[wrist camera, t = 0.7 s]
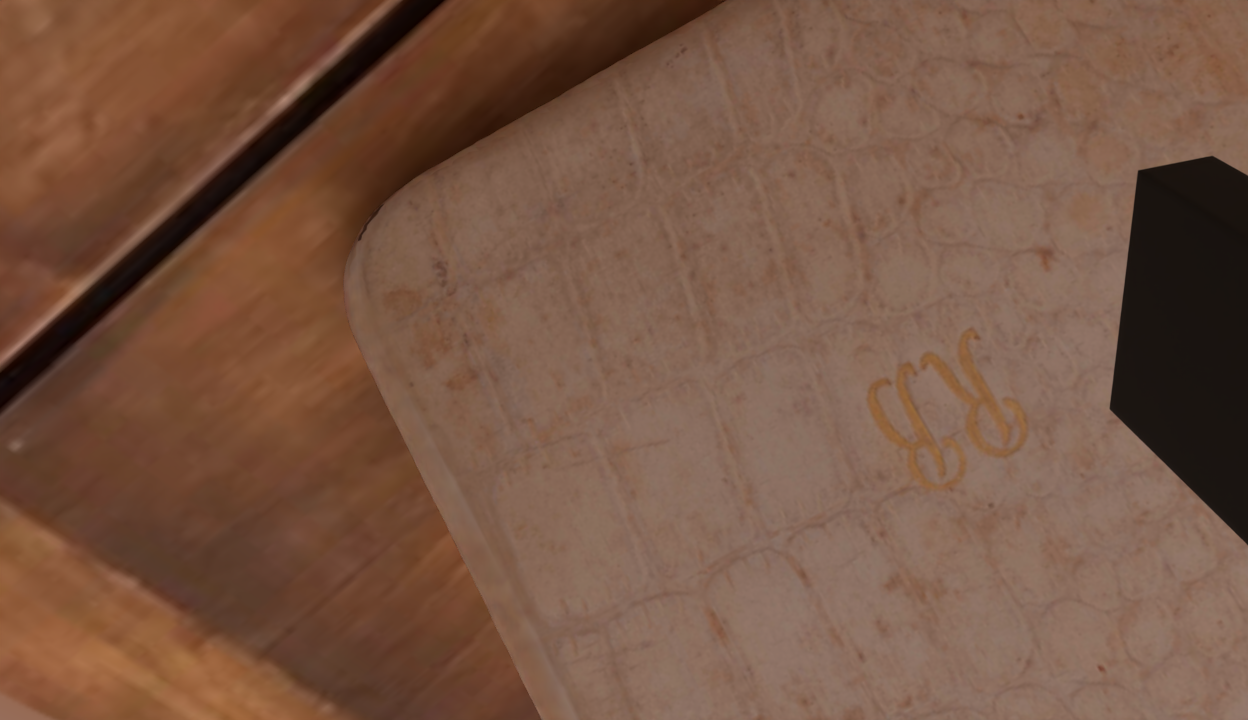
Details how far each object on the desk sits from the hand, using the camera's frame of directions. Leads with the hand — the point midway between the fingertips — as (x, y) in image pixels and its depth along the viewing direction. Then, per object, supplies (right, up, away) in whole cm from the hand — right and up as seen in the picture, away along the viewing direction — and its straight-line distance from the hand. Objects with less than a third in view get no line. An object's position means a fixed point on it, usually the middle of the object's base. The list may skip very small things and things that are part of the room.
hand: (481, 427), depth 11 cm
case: (+7, +2, +22) cm, 24 cm away
